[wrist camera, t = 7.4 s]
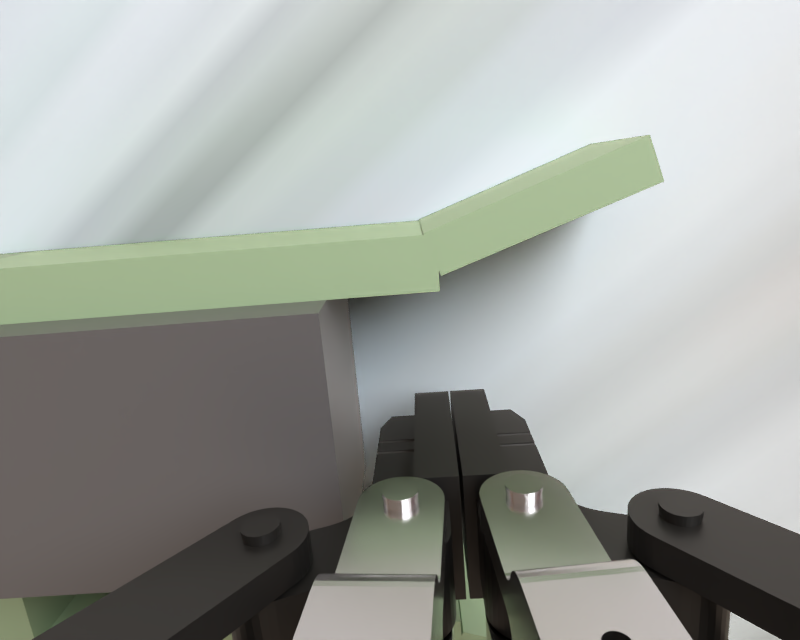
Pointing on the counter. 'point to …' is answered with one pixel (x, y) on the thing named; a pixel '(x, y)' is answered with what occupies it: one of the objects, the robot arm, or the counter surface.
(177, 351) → the chute block
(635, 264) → the counter surface
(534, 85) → the counter surface
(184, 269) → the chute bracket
